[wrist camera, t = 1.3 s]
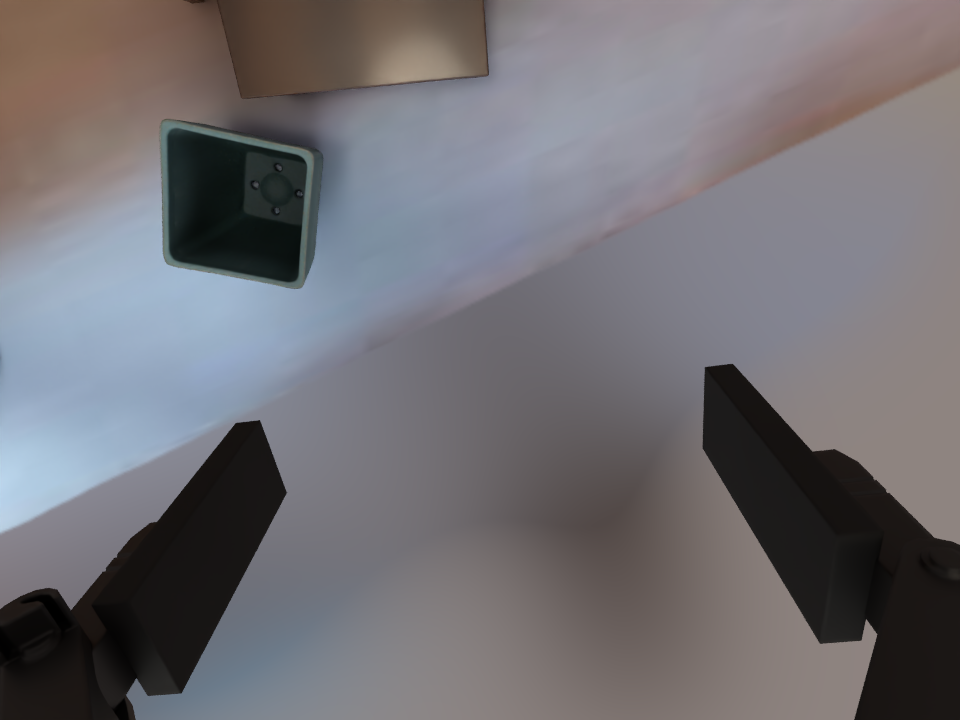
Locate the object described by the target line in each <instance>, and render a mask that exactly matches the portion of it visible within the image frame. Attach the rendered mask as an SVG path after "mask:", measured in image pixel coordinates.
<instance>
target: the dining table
mask: <svg viewBox="0 0 960 720" xmlns="http://www.w3.org/2000/svg"><path fill="white" fill-rule="evenodd" d="M217 1H218V5H219V9H220V13H221V17H222V22H223V26H224V30H225V34H226V38H227V42H228V46H229V50H230V54H231V58H232V62H233V66H234V70H235V74H236V79H237V83H238V87H239V91H240V95H241V98H242V99H250V98H260V97H271V96H282V95H295V94H305V93H314V92H324V91H335V90H346V89H356V88H367V87H377V86H388V85H399V84H409V83H420V82H431V81H441V80H452V79H463V78H476V77H484V76H488V75H489V70H488V55H487V41H486V26H485V12H484V0H217Z"/></svg>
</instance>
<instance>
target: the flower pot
mask: <svg viewBox="0 0 960 720" xmlns="http://www.w3.org/2000/svg"><path fill="white" fill-rule="evenodd" d="M160 155H161V174H162V176H161V178H162V219H163V221H162V224H163V225H162V226H163V256H164V259H165V262H166V263H167V264H168V265H171V266H174V267H178V268H185V269H190V270H197V271H202V272H208V273H214V274H220V275H226V276H231V277H236V278H241V279H247V280H252V281H258V282H262V283H268V284H273V285H277V286H282V287H286V288H292V289H298V288H302V286H303V285H304V282H305V280H306V278H307V275H308V273H309V270H310V268H311V265H312V262H313V259H314V255H315V245H316V233H317V220H318V208H319V198H320V187H321V176H322V167H323V156H322V153H321V152H320V151H319V150H317V149H314V148H310V147H305V146H300V145H296V144H291V143H286V142H282V141H277V140H273V139H268V138H264V137H259V136H254V135H250V134H246V133H241V132H237V131H232V130H228V129H223V128H219V127H215V126H211V125H206V124H200V123H193V122H186V121H180V120H172V119H165V120H163V121H162V122H161V125H160ZM277 164H280V165H281V166H282V170H281V171H277V170H276V168H275V166H276V165H277ZM254 181H256V182H258V184H259V187H258V188H254V187H253V186H252V182H254ZM297 191H301V192H302V194H303V195H302V197H297V195H296V192H297ZM274 207H277V208H279V210H280V212H279V213H278V214H275V213H274V212H273V208H274Z"/></svg>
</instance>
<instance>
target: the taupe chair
mask: <svg viewBox="0 0 960 720" xmlns="http://www.w3.org/2000/svg"><path fill="white" fill-rule="evenodd" d="M184 1H187V2H190V3H201V2H204V0H184Z"/></svg>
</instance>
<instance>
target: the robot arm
mask: <svg viewBox="0 0 960 720" xmlns="http://www.w3.org/2000/svg"><path fill="white" fill-rule="evenodd" d="M704 383H705V384H704V418H703V450H704V451H705V453H706V455H707V456H708V458H709V460H710V461H711V462H712V465H713V466H714V468H715V469H716V471H717V473H718V474H719V476H720V478H721V479H722V481H723V483H724V485H725V486H726V488H727V489H728V491H729V493H730V494H731V496H732V498H733V500H734V501H735V503H736V504H737V506H738V508H739V510H740V511H741V513H742V515H743V516H744V518H745V520H746V521H747V523H748V524H749V526H750V528H751V530H752V531H753V533H754V534H755V536H756V538H757V539H758V541H759V543H760V544H761V546H762V548H763V549H764V551H765V553H766V554H767V556H768V558H769V559H770V561H771V563H772V564H773V566H774V567H775V569H776V571H777V573H778V574H779V576H780V578H781V579H782V581H783V583H784V584H785V586H786V588H787V589H788V591H789V593H790V594H791V596H792V598H793V599H794V601H795V603H796V604H797V606H798V608H799V609H800V611H801V612H802V614H803V616H804V618H805V619H806V621H807V623H808V624H809V626H810V628H811V629H812V631H813V633H814V634H815V636H816V638H817V639H818V641H819V643H820V644H823V643H836V642H848V641H861V640H862V635H863V630H864V625H865V621H866V619H867V620H868V622H869V623H870V625H871V626H872V627H873V629H874V630H875V631H876V633H877V634H878V635H877V638H876V642H875V646H874V649H873V653H872V657H871V660H870V664H869V668H868V671H867V675H866V679H865V682H864V686H863V690H862V694H861V697H860V701H859V705H858V708H857V712H856V716H855V719H854V720H960V545H959V544H956V543H954V542H951V541H946V540H941V539H937V538H934V537H933V536H932V535H931V534H930V533H929V532H928V531H927V530H926V529H925V528H924V527H923V526H922V525H921V524H920V523H919V522H918V521H917V520H916V519H915V518H914V517H913V516H912V515H911V514H910V513H909V512H908V511H907V510H906V509H905V508H904V507H903V506H902V505H901V504H900V503H899V502H898V501H897V500H895V498H894V497H893V496H892V495H891V494H890V493H887V492H886V489H885V488H884V487H883V486H882V485H881V484H880V483H879V482H878V481H877V480H874V479H873V476H871V474H870V473H869V472H868V471H867V470H866V469H864V467H863V466H862V465H861V464H859V462H857V461H855V460H854V459H852V458H850V457H848V456H846V455H844V454H843V453H841V452H839V451H837V450H835V449H833V450H824V451H815V452H812V451H811V450H810V448H809V447H808V446H807V445H806V444H805V443H804V442H803V441H802V440H801V439H800V437H799V436H798V435H797V434H796V433H795V432H794V431H793V430H792V429H791V428H790V426H789V425H788V424H787V423H786V422H785V421H784V420H783V419H782V418H781V416H779V414H778V413H777V412H776V411H775V410H774V409H773V408H772V407H771V405H770V404H769V403H768V402H767V401H766V400H765V399H764V398H763V397H762V395H761V394H760V393H759V392H758V391H757V390H756V389H755V388H754V387H753V386H752V384H751V383H750V382H749V381H748V380H747V379H746V378H745V377H744V376H743V375H742V373H741V372H740V371H739V370H738V369H737V368H736V367H735V366H734V365H733V364H727V365H719V366H711V367H705V382H704ZM286 493H287V492H286V489H285V487H284V484H283V481H282V479H281V476H280V473H279V470H278V468H277V465H276V462H275V460H274V457H273V454H272V452H271V449H270V446H269V443H268V441H267V438H266V435H265V433H264V430H263V427H262V424H261V422H260V420H258V421H250V422H241V423H236V424H235V425H234V426H233V427H232V429H231V430H230V431H229V432H228V434H227V435H226V436H225V437H224V439H223V440H222V441H221V442H220V444H219V445H218V446H217V448H216V449H215V450H214V451H213V452H212V454H211V455H210V456H209V457H208V459H207V460H206V461H205V463H204V464H203V465H202V466H201V468H200V469H199V470H198V471H197V472H196V474H195V475H194V476H193V478H192V479H191V480H190V481H189V483H188V484H187V485H186V486H185V488H184V489H183V490H182V491H181V493H180V494H179V495H178V496H177V498H176V499H175V500H174V501H173V503H172V504H171V505H170V506H169V508H168V509H167V510H166V512H165V513H164V514H163V515H162V516H161V518H160V519H159V520H158V521H157V522H153V523H149V524H148V525H147V526H146V527H144V528H143V529H142V530H141V531H139V532H138V533H137V534H135V535H134V536H133V537H132V538H130V540H129V541H128V542H127V544H126V545H125V546H124V547H123V548H122V550H121V551H120V552H119V553H118V554H117V558H114V559H113V560H112V561H111V563H110V564H109V565H108V566H107V567H106V571H105V572H102V574H101V575H100V576H99V577H98V578H97V580H96V581H95V582H94V583H93V584H92V586H91V587H90V588H89V589H88V591H87V592H86V593H85V594H84V595H83V597H82V598H81V599H80V600H79V601H78V603H77V604H76V605H75V606H74V607H73V609H72V610H70V609H69V607H68V606H67V604H66V602H65V601H64V599H63V598H62V596H61V595H60V593H59V592H58V590H56V589H51V588H45V589H40V590H35V591H32V592H30V593H27V594H25V595H23V596H20V597H19V598H17V599H15V600H13V601H12V602H10V603H8V604H7V605H5V606H4V607H3V608H1V609H0V720H136V719H135V715H134V710H133V706H132V704H131V702H130V701H129V699H128V698H127V696H126V694H127V692H128V691H129V689H130V687H131V686H132V684H133V683H134V681H135V679H136V678H137V679H138V681H139V683H140V684H141V686H142V687H143V689H144V690H145V692H146V694H147V695H148V696H153V695H166V694H178V693H182V691H183V689H184V688H185V686H186V684H187V682H188V680H189V678H190V676H191V674H192V672H193V670H194V669H195V667H196V665H197V663H198V661H199V659H200V657H201V655H202V653H203V651H204V650H205V648H206V646H207V644H208V642H209V640H210V638H211V636H212V634H213V632H214V630H215V629H216V627H217V625H218V623H219V621H220V619H221V617H222V615H223V613H224V611H225V610H226V608H227V606H228V604H229V602H230V600H231V598H232V596H233V594H234V592H235V591H236V588H237V587H238V585H239V583H240V581H241V579H242V577H243V575H244V573H245V571H246V570H247V568H248V566H249V564H250V562H251V560H252V558H253V556H254V554H255V552H256V551H257V549H258V547H259V545H260V543H261V541H262V539H263V537H264V535H265V533H266V532H267V530H268V528H269V526H270V524H271V522H272V520H273V518H274V516H275V514H276V513H277V510H278V509H279V507H280V505H281V503H282V501H283V499H284V497H285V495H286Z"/></svg>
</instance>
